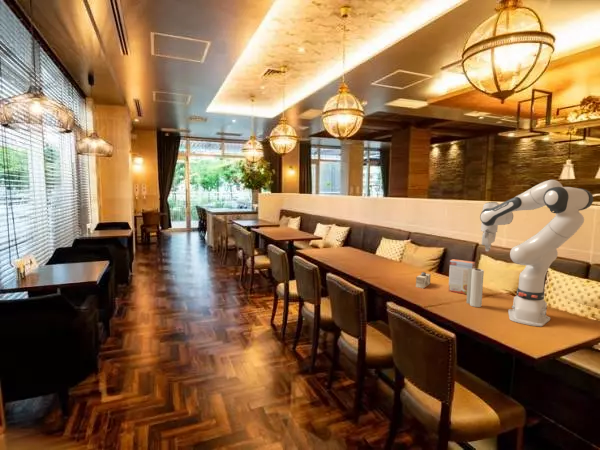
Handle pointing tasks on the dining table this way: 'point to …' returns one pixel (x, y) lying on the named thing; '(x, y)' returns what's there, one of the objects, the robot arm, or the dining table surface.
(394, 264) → the dining table surface
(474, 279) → the paper towel roll
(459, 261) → the cracker box
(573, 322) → the dining table surface
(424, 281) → the stop block
